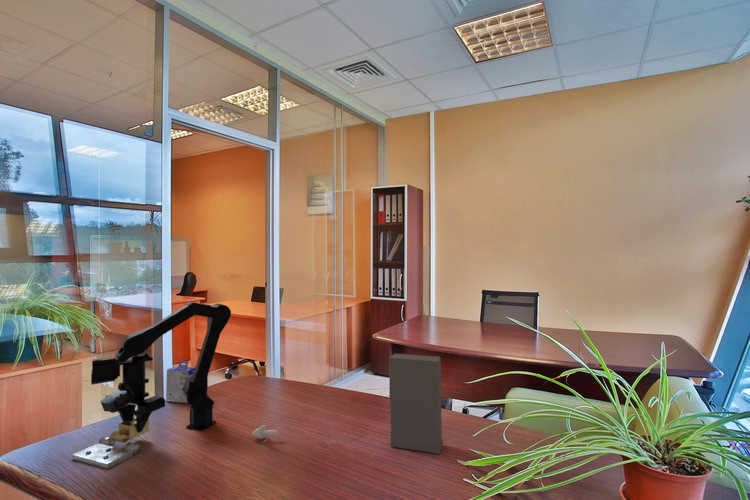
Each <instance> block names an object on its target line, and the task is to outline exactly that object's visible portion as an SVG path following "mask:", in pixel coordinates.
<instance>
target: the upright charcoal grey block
mask: <svg viewBox="0 0 750 500" xmlns="http://www.w3.org/2000/svg"><path fill="white" fill-rule="evenodd" d="M441 365H442V364H441V356H433V355H432V356H431V355H421V354H420V355H419V354H408V353H407V354H406V353H394V354H392V355H391V356H390V357H389V394H390V396H389V397H390V401H389V402H390V403H389V404H390V407H389V408H390V441H389V442H390V443H389V445H390V447H391V448H399V449H407V450H410V451H412V450H413V451H419V452H426V453H431V454H434V455H439V454H440V453H441V451H442V447H443V444H444V439H443V436H442V435H443V432H442V431H443V430H442V427H443V426H442V425H443V424H442V379H441V378H442V375H441V374H442V371H441V370H442V369H441V367H442V366H441Z"/></svg>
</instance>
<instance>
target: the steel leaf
mask: <svg viewBox="0 0 750 500" xmlns="http://www.w3.org/2000/svg"><path fill="white" fill-rule="evenodd" d="M114 445H116V441H114V440H111V439H110V436H102V437H101V438H100V439H99V440H98V443H95V444H94V445H91V446H88V447H87V448H84V449H82V450H79V451H77V452H75V453H73V454H71V460H73V461H78V462H81V463H85V464H89V465H92V466H96V467H99V468H103V469H105V470H106V469H109V468H111V467H113V466H116V465H117V464H119V463H121V462H123V461H125V460H128V459H130V458H132V457H133V456H134V455H136V454H137V455H138V453H140V452H141V450H142V445H141V444H139V443H135V442H131V441H129V442H126V444H125V445H124V447H123V448H121V447H117V446H114Z"/></svg>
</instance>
